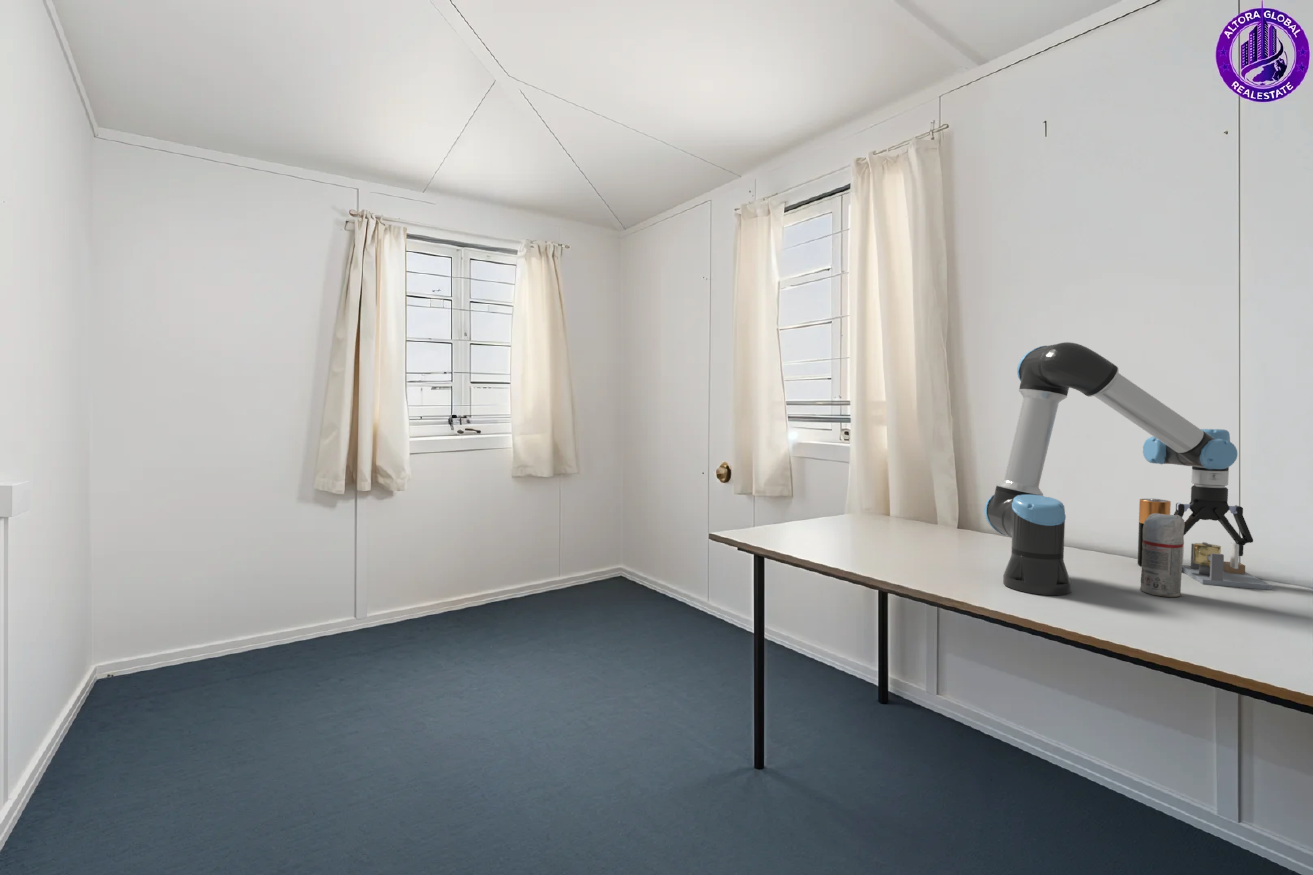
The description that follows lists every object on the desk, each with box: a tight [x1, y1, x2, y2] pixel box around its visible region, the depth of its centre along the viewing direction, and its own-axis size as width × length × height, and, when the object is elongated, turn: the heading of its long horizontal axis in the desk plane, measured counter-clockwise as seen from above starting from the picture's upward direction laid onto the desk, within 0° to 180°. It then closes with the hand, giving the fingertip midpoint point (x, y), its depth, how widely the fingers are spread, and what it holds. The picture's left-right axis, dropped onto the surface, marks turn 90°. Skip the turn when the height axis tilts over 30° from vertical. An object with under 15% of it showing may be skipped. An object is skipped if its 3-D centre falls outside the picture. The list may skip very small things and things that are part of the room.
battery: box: [1137, 497, 1172, 567], centre depth 184 cm, size 7×7×20 cm
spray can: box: [1139, 513, 1185, 598], centre depth 158 cm, size 8×8×20 cm
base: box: [1182, 543, 1272, 591], centre depth 171 cm, size 14×17×8 cm
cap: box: [1193, 541, 1222, 566], centre depth 171 cm, size 9×6×5 cm, turn 157°
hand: (1206, 565), depth 171 cm, fingers open, 11 cm apart
